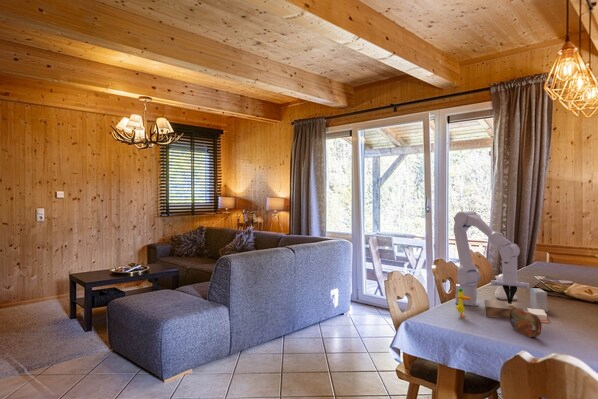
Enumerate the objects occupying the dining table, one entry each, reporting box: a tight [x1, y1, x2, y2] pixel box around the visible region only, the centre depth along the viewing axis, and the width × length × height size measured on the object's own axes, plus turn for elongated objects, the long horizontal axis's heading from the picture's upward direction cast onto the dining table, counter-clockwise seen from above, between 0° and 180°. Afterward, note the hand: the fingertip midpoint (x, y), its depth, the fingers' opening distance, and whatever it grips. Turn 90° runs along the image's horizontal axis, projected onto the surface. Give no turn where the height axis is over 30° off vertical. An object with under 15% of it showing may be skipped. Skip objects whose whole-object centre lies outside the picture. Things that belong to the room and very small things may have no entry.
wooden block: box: [484, 299, 523, 319], centre depth 169 cm, size 14×12×4 cm
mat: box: [540, 319, 550, 324], centre depth 164 cm, size 9×14×1 cm, turn 156°
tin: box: [509, 308, 542, 338], centre depth 146 cm, size 15×3×8 cm, turn 5°
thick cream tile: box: [526, 307, 548, 320], centre depth 164 cm, size 6×9×2 cm, turn 156°
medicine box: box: [529, 287, 548, 313], centre depth 176 cm, size 8×4×9 cm, turn 169°
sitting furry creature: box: [494, 273, 518, 301], centre depth 195 cm, size 10×9×12 cm
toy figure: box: [454, 288, 471, 318], centre depth 166 cm, size 7×4×12 cm, turn 54°
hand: (509, 303), depth 168 cm, fingers closed
